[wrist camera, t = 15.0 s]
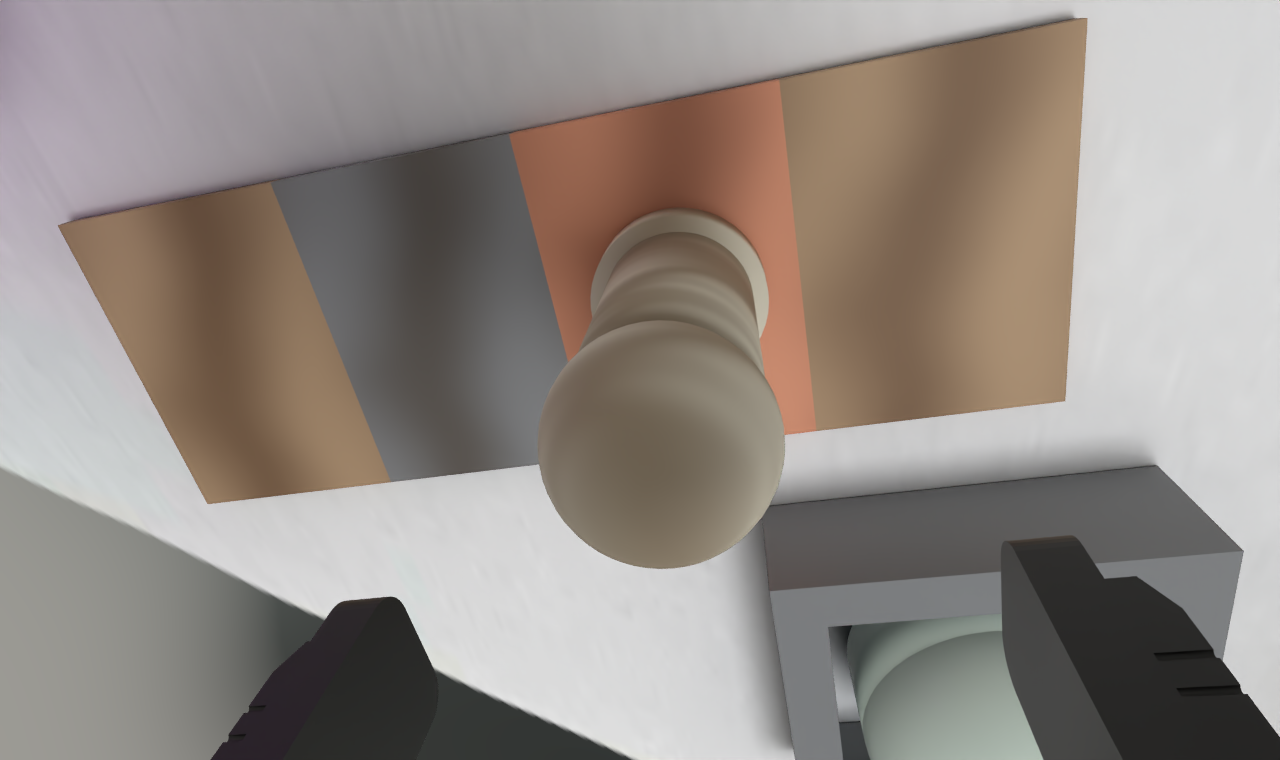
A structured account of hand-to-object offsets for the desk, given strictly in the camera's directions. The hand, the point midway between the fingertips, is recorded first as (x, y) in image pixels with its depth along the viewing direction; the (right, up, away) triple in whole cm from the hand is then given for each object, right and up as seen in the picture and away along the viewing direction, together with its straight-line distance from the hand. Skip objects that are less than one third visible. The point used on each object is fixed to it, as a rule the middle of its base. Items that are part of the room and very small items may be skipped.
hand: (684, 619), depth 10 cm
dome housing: (+10, -6, +16) cm, 20 cm away
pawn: (+1, +6, +11) cm, 12 cm away
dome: (+10, -6, +16) cm, 20 cm away
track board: (-3, +5, +12) cm, 13 cm away
